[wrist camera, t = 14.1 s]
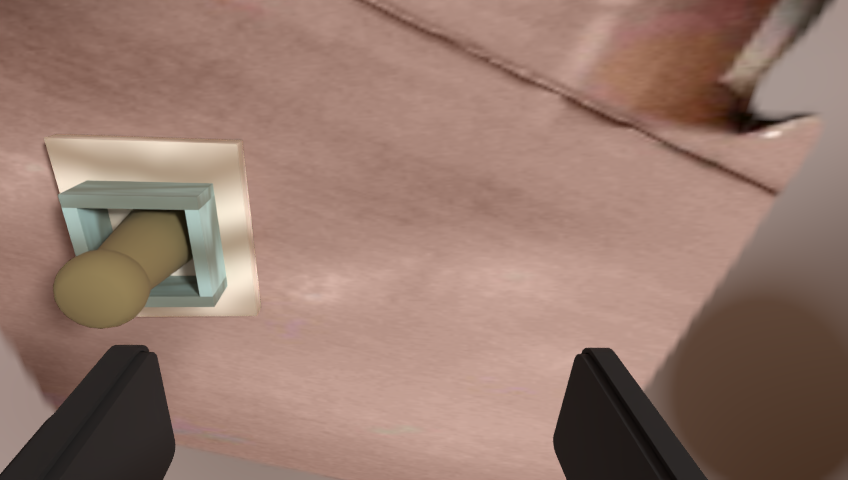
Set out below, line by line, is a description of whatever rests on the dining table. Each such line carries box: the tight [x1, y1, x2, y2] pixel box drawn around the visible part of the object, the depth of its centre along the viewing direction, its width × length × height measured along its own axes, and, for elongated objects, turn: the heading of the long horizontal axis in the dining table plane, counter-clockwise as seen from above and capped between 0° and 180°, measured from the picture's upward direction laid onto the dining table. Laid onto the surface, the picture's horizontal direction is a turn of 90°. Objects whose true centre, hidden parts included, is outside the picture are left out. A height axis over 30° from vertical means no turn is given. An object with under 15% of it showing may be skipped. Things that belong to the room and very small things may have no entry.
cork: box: [53, 209, 193, 329], centre depth 33 cm, size 6×6×11 cm
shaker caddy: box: [44, 134, 261, 317], centre depth 37 cm, size 16×14×5 cm
